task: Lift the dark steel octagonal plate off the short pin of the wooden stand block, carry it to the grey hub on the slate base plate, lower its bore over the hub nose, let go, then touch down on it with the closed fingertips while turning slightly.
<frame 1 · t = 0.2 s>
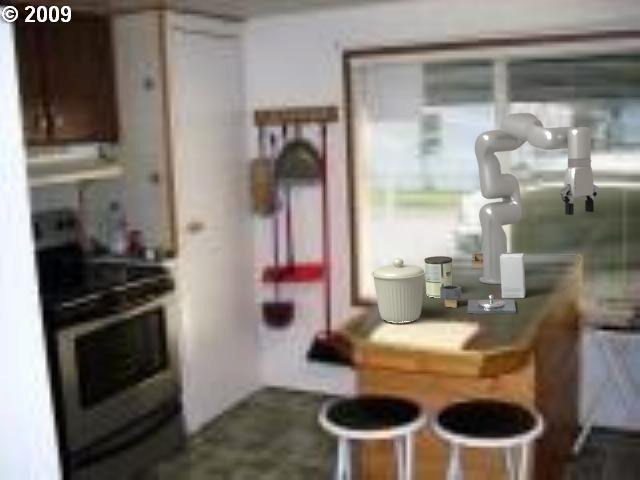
hand: (579, 213, 274), 31 cm above the table, tool pointing down, fingers open, 9 cm apart
plate ring: (450, 297, 282), point 3 cm above the table, touching stand
skincare box: (513, 297, 291), on the table
canister: (400, 320, 267), on the table
stand: (451, 305, 283), on the table
dish frame: (494, 263, 353), on the table
coffee can: (439, 295, 299), on the table
butter dish: (494, 265, 353), resting in dish frame
hub: (491, 307, 276), on the table
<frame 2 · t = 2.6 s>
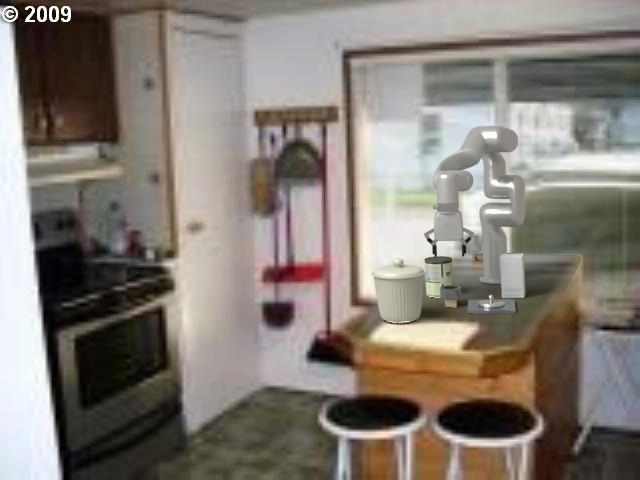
hand: (449, 256, 280), 18 cm above the table, tool pointing down, fingers open, 9 cm apart
butter dish: (497, 265, 351), resting in dish frame
everything else where it was.
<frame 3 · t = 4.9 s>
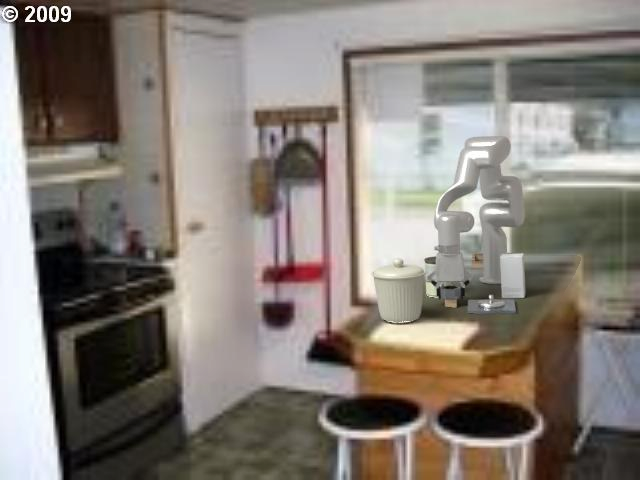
hand: (450, 298, 282), 3 cm above the table, tool pointing down, fingers closed on plate ring, 7 cm apart
plate ring: (450, 297, 282), point 3 cm above the table, touching gripper, stand
butter dish: (498, 266, 350), resting in dish frame
everything else where it was.
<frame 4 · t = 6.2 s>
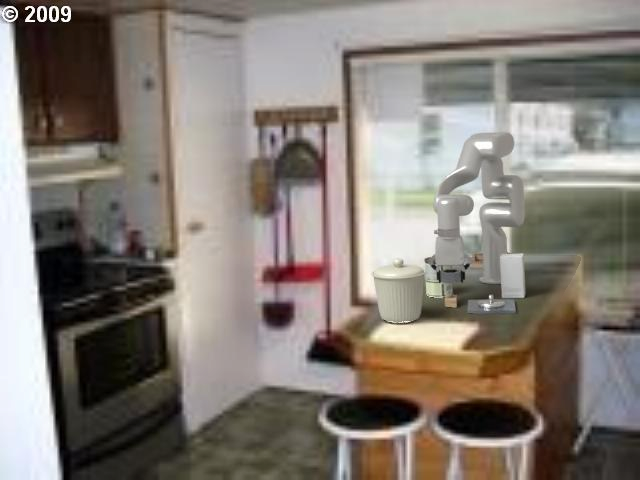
hand: (451, 281, 282), 8 cm above the table, tool pointing down, fingers closed on plate ring, 7 cm apart
plate ring: (451, 280, 282), point 9 cm above the table, touching gripper
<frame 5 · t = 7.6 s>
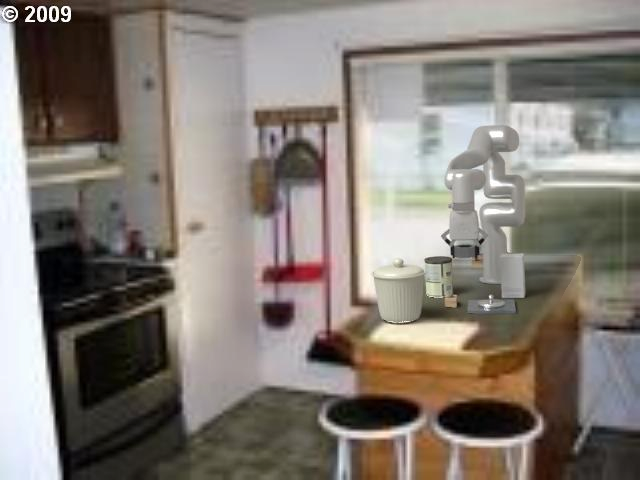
hand: (465, 257, 277), 18 cm above the table, tool pointing down, fingers closed on plate ring, 7 cm apart
plate ring: (464, 256, 277), point 18 cm above the table, touching gripper
everything else where it was.
when the fingers open (3 cm above the table, at t = 10.7 s): plate ring drops 1 cm, resting on hub.
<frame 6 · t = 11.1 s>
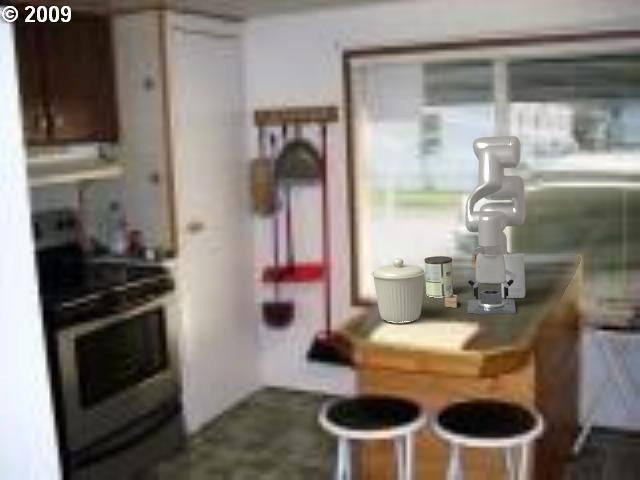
hand: (491, 298, 275), 3 cm above the table, tool pointing down, fingers open, 9 cm apart
plate ring: (491, 302, 276), point 2 cm above the table, touching hub
everything else where it was.
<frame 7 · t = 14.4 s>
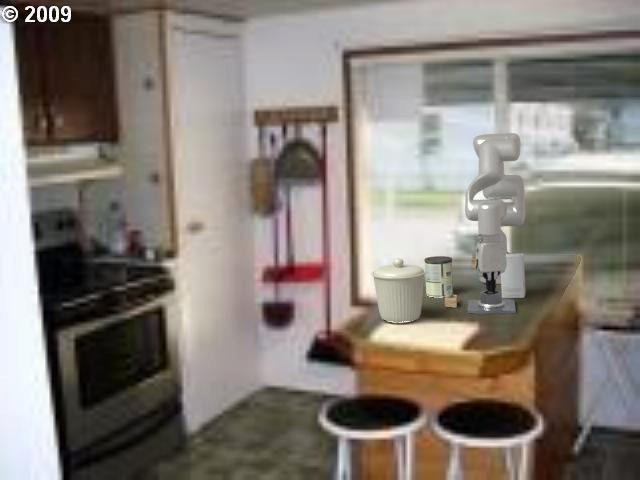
hand: (491, 290, 275), 6 cm above the table, tool pointing down, fingers closed
nothing on the table moved.
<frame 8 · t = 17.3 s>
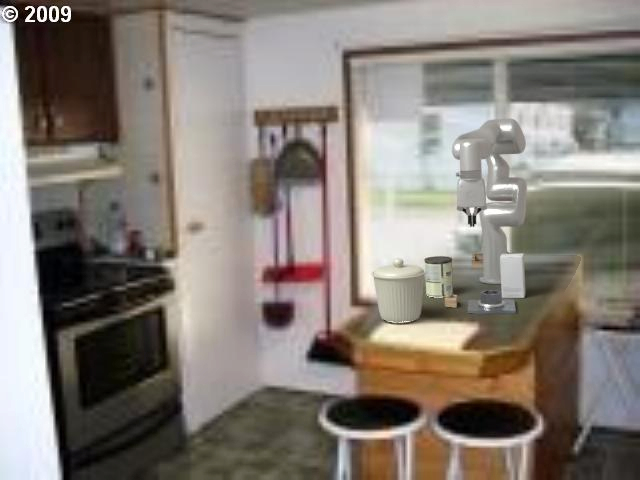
hand: (472, 226, 285), 27 cm above the table, tool pointing down, fingers closed
nothing on the table moved.
at the end: plate ring 0.1 cm off-centre on the hub, point 2.0 cm above the hub's base; the gripper is holding nothing; plate ring tilted 0° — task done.
